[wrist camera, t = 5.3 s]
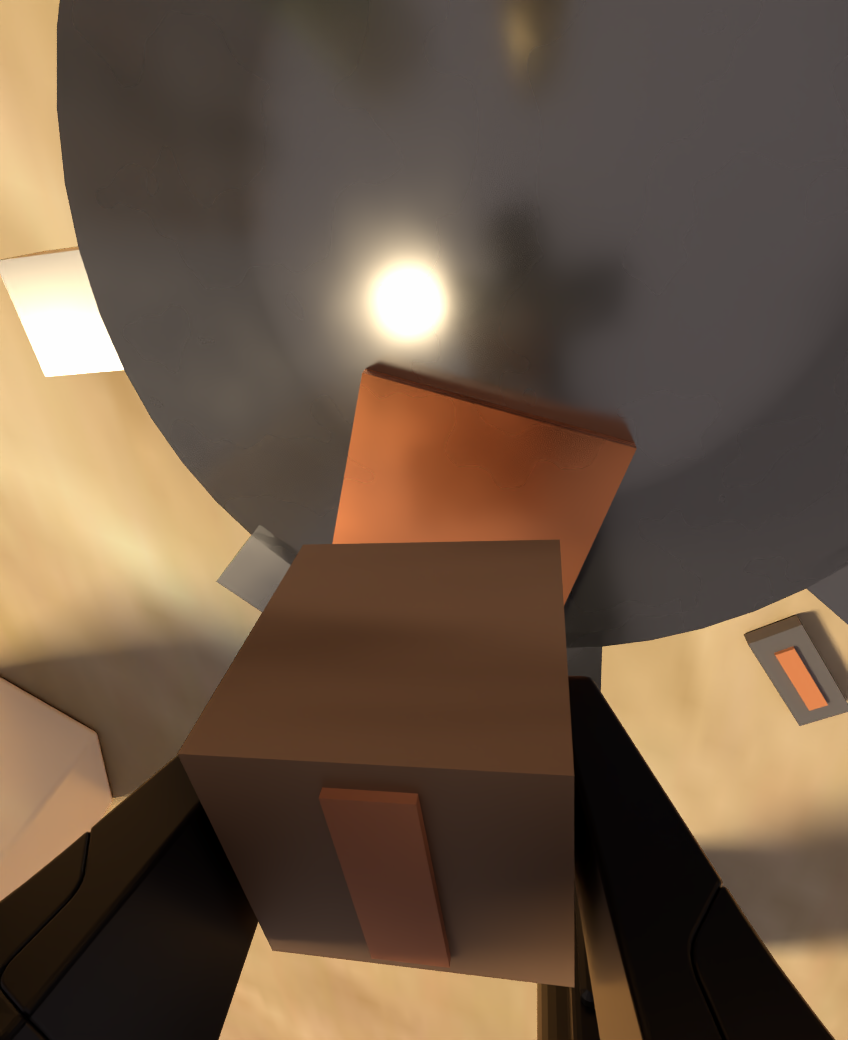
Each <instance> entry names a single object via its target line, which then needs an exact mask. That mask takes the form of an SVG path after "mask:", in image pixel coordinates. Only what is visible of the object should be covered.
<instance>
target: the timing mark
mask: <svg viewBox="0 0 848 1040" xmlns="http://www.w3.org/2000/svg"><path fill="white" fill-rule="evenodd" d="M744 636H745V638H746V641H747V643H748V645H749V647H750V648H751V650H752V651H753V653H754V654H755V656H756V658H757V659H758V661H759V662H760V664H761V666H762V667H763V669H764V670H765V672H766V673H767V675H768V677H769V678H770V680H771V681H772V683H773V684H774V686H775V688H776V689H777V691H778V692H779V694H780V696H781V697H782V699H783V700H784V702H785V703H786V705H787V707H788V708H789V710H790V711H791V713H792V715H793V716H794V718H795V719H796V721H797V722H798V724H799V726H801V725H805V724H808V723H812V722H815V721H818V720H822V719H825V718H828V717H832V716H835V715H839V714H842V713H845V712H848V703H847V702H846V700H845V698H844V696H843V695H842V693H841V691H840V690H839V688H838V686H837V684H836V683H835V681H834V679H833V677H832V676H831V674H830V672H829V671H828V669H827V667H826V665H825V664H824V662H823V660H822V658H821V657H820V655H819V653H818V651H817V650H816V648H815V646H814V645H813V643H812V641H811V639H810V638H809V636H808V634H807V632H806V631H805V629H804V627H803V626H802V624H801V622H800V620H799V619H798V617H797V615H795V616H793V617H790V618H787V619H785V620H782V621H779V622H776V623H774V624H771V625H768V626H766V627H763V628H760V629H758V630H755V631H752V632H749V633H747V634H744Z"/></svg>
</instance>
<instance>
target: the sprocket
mask: <svg viewBox="0 0 848 1040" xmlns="http://www.w3.org/2000/svg"><path fill="white" fill-rule="evenodd" d="M57 113H58V122H59V132H60V141H61V151H62V160H63V169H64V179H65V186H66V190H67V195H68V200H69V205H70V209H71V214H72V219H73V223H74V228H75V233H76V238H77V242H78V247H71V248H64V249H56V250H49V251H42V252H37V253H32V254H27V255H22V256H17V257H12V258H7V259H2V260H0V275H1V277H2V279H3V282H4V284H5V286H6V288H7V291H8V293H9V295H10V297H11V300H12V302H13V304H14V306H15V309H16V311H17V313H18V315H19V318H20V320H21V322H22V325H23V327H24V329H25V331H26V334H27V336H28V338H29V340H30V343H31V345H32V347H33V349H34V352H35V354H36V356H37V358H38V361H39V363H40V365H41V367H42V370H43V372H44V374H45V376H58V375H69V374H81V373H93V372H105V371H116V370H125V372H126V374H127V376H128V378H129V379H130V381H131V383H132V385H133V386H134V388H135V390H136V392H137V393H138V395H139V397H140V399H141V401H142V402H143V404H144V406H145V408H146V409H147V411H148V413H149V415H150V417H151V418H152V420H153V421H154V423H155V424H156V425H157V427H158V428H159V430H160V431H161V433H162V434H163V435H164V437H165V438H166V440H167V441H168V443H169V444H170V445H171V447H172V448H173V450H174V451H175V452H176V454H177V455H178V457H179V458H180V460H181V461H182V462H183V464H184V465H185V466H186V467H187V468H188V469H189V471H190V472H191V473H192V474H193V475H194V476H195V477H196V479H197V480H198V481H199V482H200V483H201V484H202V486H203V487H204V488H205V489H206V490H207V491H208V492H209V494H210V495H211V496H212V497H213V498H214V499H215V501H216V502H217V503H218V504H219V505H221V506H222V507H223V508H224V509H225V510H226V511H227V512H228V513H229V514H230V515H231V516H232V517H233V518H234V519H235V520H236V521H237V522H239V523H240V524H241V525H242V526H243V527H244V528H245V529H246V530H247V531H248V532H249V533H250V534H251V536H250V537H249V539H248V540H247V541H246V543H245V544H244V545H243V547H242V548H241V549H240V551H239V552H238V553H237V555H236V556H235V557H234V559H233V560H232V561H231V563H230V564H229V565H228V567H227V568H226V569H225V571H224V572H223V573H222V575H221V576H220V577H219V579H218V580H217V581H216V582H218V583H219V584H221V585H222V586H224V587H225V588H227V589H228V590H230V591H231V592H233V593H234V594H236V595H237V596H239V597H240V598H242V599H243V600H245V601H246V602H248V603H249V604H251V605H252V606H254V607H255V608H257V609H258V610H260V611H261V612H263V611H264V609H265V607H266V606H267V604H268V602H269V601H270V599H271V597H272V596H273V594H274V592H275V591H276V589H277V587H278V586H279V584H280V582H281V581H282V579H283V577H284V576H285V574H286V572H287V571H288V569H289V567H290V566H291V564H292V562H293V561H294V559H295V557H296V556H297V554H298V552H299V551H300V549H301V547H302V546H303V545H310V544H360V543H410V542H461V541H511V540H560V552H561V568H562V584H563V601H564V617H565V633H566V650H567V666H568V676H588V677H590V678H591V679H592V680H593V681H594V682H595V684H596V685H597V687H598V689H599V690H600V692H601V663H602V646H610V645H618V644H625V643H633V642H641V641H648V640H654V639H658V638H663V637H667V636H671V635H676V634H680V633H684V632H689V631H693V630H698V629H702V628H705V627H708V626H711V625H714V624H717V623H720V622H723V621H726V620H729V619H732V618H735V617H738V616H741V615H744V614H747V613H750V612H753V611H756V610H758V609H761V608H763V607H765V606H767V605H770V604H772V603H774V602H776V601H779V600H781V599H783V598H786V597H788V596H790V595H792V594H795V593H797V592H799V591H802V590H804V589H806V588H807V589H808V590H809V591H810V592H811V593H812V594H814V595H815V596H816V597H817V598H818V599H819V600H820V601H822V602H823V603H824V604H825V605H826V606H827V607H828V608H830V609H831V610H832V611H833V612H834V613H835V614H836V615H838V616H839V617H840V618H841V619H842V620H843V621H844V622H846V623H847V624H848V0H60V4H59V13H58V22H57Z"/></svg>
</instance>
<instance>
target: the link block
mask: <svg viewBox="0 0 848 1040" xmlns="http://www.w3.org/2000/svg"><path fill="white" fill-rule="evenodd" d="M178 756H179V758H180V761H181V763H182V765H183V767H184V769H185V771H186V773H187V775H188V777H189V779H190V781H191V783H192V785H193V787H194V789H195V791H196V794H197V796H198V798H199V800H200V802H201V804H202V806H203V808H204V810H205V812H206V814H207V816H208V818H209V820H210V822H211V825H212V827H213V829H214V831H215V833H216V835H217V837H218V839H219V841H220V843H221V845H222V847H223V849H224V851H225V853H226V856H227V858H228V860H229V862H230V864H231V866H232V868H233V870H234V872H235V874H236V876H237V878H238V880H239V882H240V884H241V887H242V889H243V891H244V893H245V895H246V897H247V899H248V901H249V903H250V905H251V907H252V909H253V911H254V913H255V915H256V917H257V920H258V922H259V924H260V926H261V928H262V930H263V932H264V934H265V936H266V938H267V940H268V942H269V944H270V946H271V948H272V951H280V952H289V953H297V954H305V955H313V956H321V957H329V958H338V959H346V960H354V961H362V962H370V963H378V964H386V965H395V966H403V967H411V968H419V969H427V970H435V971H444V972H452V973H460V974H468V975H476V976H484V977H492V978H501V979H509V980H517V981H525V982H533V983H541V984H550V985H558V986H566V987H574V764H573V748H572V731H571V715H570V699H569V682H568V666H567V650H566V633H565V617H564V601H563V584H562V568H561V552H560V540H511V541H461V542H410V543H360V544H310V545H303V546H302V547H301V549H300V551H299V552H298V554H297V556H296V557H295V559H294V561H293V562H292V564H291V566H290V567H289V569H288V571H287V572H286V574H285V576H284V577H283V579H282V581H281V582H280V584H279V586H278V587H277V589H276V591H275V592H274V594H273V596H272V597H271V599H270V601H269V602H268V604H267V606H266V607H265V609H264V611H263V612H262V614H261V616H260V617H259V619H258V621H257V622H256V624H255V626H254V627H253V629H252V631H251V632H250V634H249V636H248V637H247V639H246V641H245V642H244V644H243V645H242V647H241V649H240V650H239V652H238V654H237V655H236V657H235V659H234V660H233V662H232V664H231V665H230V667H229V669H228V670H227V672H226V674H225V675H224V677H223V679H222V680H221V682H220V684H219V685H218V687H217V689H216V690H215V692H214V694H213V695H212V697H211V699H210V700H209V702H208V704H207V705H206V707H205V709H204V710H203V712H202V714H201V715H200V717H199V719H198V720H197V722H196V724H195V725H194V727H193V729H192V730H191V732H190V734H189V735H188V737H187V739H186V740H185V742H184V744H183V745H182V747H181V749H180V750H179V752H178Z"/></svg>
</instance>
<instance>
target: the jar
mask: <svg viewBox="0 0 848 1040" xmlns="http://www.w3.org/2000/svg"><path fill="white" fill-rule="evenodd" d="M111 802H112V795H111V791H110V786H109V782H108V778H107V774H106V769H105V765H104V761H103V757H102V752H101V748H100V744H99V740H98V735H97V733H96V732H95V731H93V730H92V729H90V728H88V727H86V726H85V725H83V724H81V723H79V722H78V721H76V720H74V719H72V718H71V717H69V716H67V715H65V714H64V713H62V712H60V711H59V710H57V709H55V708H53V707H52V706H50V705H48V704H46V703H45V702H43V701H41V700H39V699H38V698H36V697H34V696H32V695H31V694H29V693H27V692H25V691H24V690H22V689H20V688H19V687H17V686H15V685H13V684H12V683H10V682H8V681H6V680H5V679H3V678H1V677H0V901H1V900H2V899H4V898H5V897H6V896H8V895H9V894H10V893H11V892H13V891H14V890H15V889H17V888H18V887H19V886H21V885H22V884H23V883H25V882H26V881H27V880H28V879H30V878H31V877H32V876H33V875H34V874H36V873H37V872H38V871H39V870H41V869H42V868H43V867H44V866H45V865H47V864H48V863H49V862H50V861H52V860H53V859H54V858H55V857H57V856H58V855H59V854H60V853H61V852H63V851H64V850H65V849H66V848H67V847H69V846H70V845H71V844H72V843H73V842H75V841H76V840H77V839H78V838H79V837H80V836H82V835H83V834H84V833H85V832H90V831H91V828H92V827H93V826H94V825H95V824H96V823H97V822H99V821H100V820H101V818H102V817H103V815H104V814H105V812H106V811H107V809H108V807H109V806H110V804H111Z"/></svg>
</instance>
